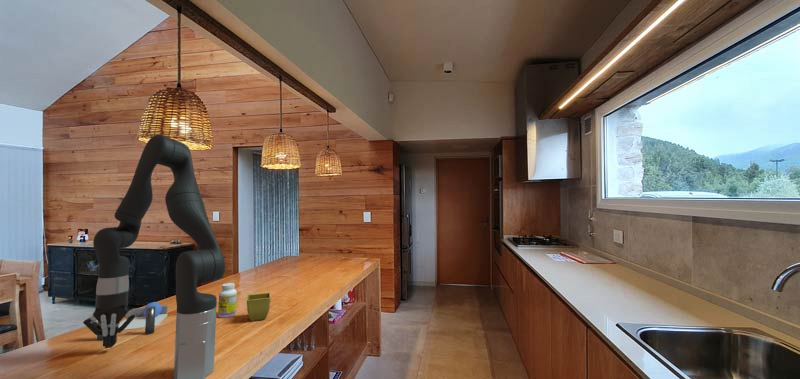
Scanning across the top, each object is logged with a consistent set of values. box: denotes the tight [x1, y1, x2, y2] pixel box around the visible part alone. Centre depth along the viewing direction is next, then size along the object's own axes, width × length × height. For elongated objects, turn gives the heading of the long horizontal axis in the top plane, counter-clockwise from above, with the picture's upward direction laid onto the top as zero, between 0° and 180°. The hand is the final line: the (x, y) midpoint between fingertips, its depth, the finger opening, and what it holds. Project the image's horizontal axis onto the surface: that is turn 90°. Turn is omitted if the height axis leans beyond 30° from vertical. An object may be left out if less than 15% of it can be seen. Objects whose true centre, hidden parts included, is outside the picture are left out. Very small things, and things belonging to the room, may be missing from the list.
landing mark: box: [118, 313, 169, 331], centre depth 121 cm, size 14×14×1 cm
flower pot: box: [246, 292, 272, 322], centre depth 126 cm, size 9×9×9 cm
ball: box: [143, 301, 163, 317], centre depth 127 cm, size 6×6×6 cm
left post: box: [96, 321, 103, 342], centre depth 106 cm, size 3×3×9 cm
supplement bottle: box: [217, 282, 238, 318], centre depth 130 cm, size 7×7×13 cm
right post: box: [144, 306, 156, 336], centre depth 111 cm, size 3×3×9 cm
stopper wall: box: [130, 305, 169, 317], centre depth 130 cm, size 2×12×3 cm, turn 113°
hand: (109, 346), depth 97 cm, fingers closed
